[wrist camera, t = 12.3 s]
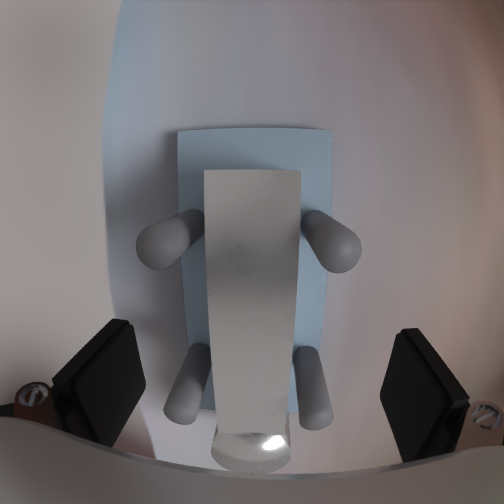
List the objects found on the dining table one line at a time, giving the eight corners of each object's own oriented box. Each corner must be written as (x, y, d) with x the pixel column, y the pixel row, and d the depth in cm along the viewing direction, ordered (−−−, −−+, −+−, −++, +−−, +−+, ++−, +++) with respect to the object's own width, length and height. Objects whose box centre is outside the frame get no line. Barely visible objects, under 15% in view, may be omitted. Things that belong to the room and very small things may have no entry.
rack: (183, 134, 15) (133, 111, 9) (327, 133, 15) (364, 107, 9) (200, 397, 20) (179, 466, 13) (308, 401, 19) (318, 472, 13)
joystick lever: (212, 172, 15) (189, 170, 10) (302, 173, 15) (316, 170, 10) (222, 425, 19) (214, 471, 15) (285, 427, 19) (287, 475, 14)
